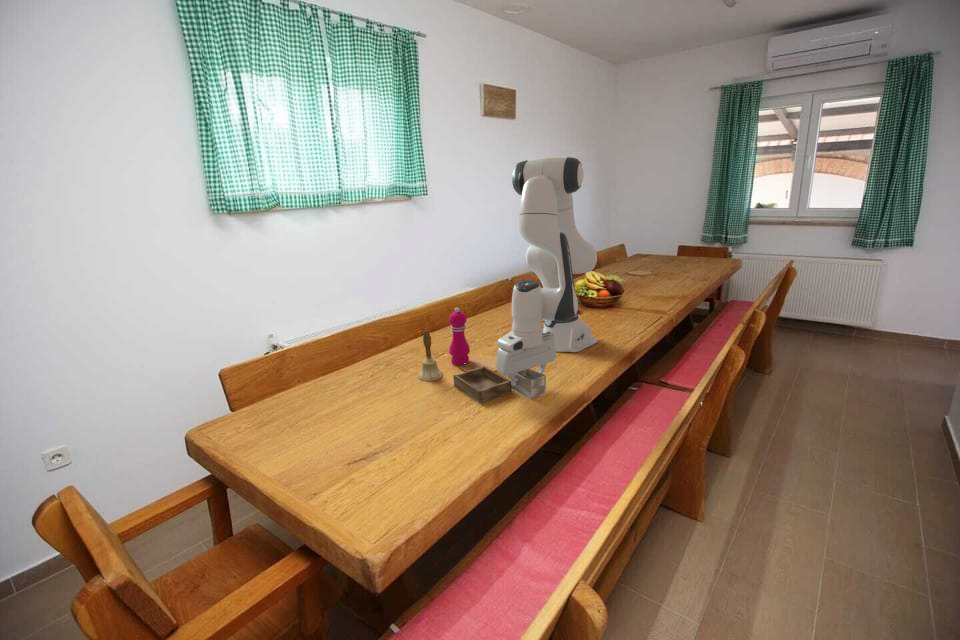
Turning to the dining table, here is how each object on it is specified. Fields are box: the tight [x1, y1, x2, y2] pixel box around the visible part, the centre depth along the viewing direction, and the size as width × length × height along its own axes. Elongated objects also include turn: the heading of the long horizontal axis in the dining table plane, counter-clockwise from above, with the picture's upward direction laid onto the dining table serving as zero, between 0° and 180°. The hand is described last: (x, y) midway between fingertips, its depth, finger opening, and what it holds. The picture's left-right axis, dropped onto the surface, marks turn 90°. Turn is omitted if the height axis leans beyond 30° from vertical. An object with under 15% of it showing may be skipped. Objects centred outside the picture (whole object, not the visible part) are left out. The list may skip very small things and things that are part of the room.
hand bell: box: [417, 329, 444, 382], centre depth 152 cm, size 8×8×16 cm
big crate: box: [453, 365, 513, 404], centre depth 143 cm, size 12×15×4 cm
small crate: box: [512, 368, 547, 400], centre depth 139 cm, size 6×9×6 cm, turn 33°
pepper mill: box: [448, 307, 471, 366], centre depth 162 cm, size 7×7×20 cm
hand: (527, 381), depth 139 cm, fingers open, 8 cm apart
